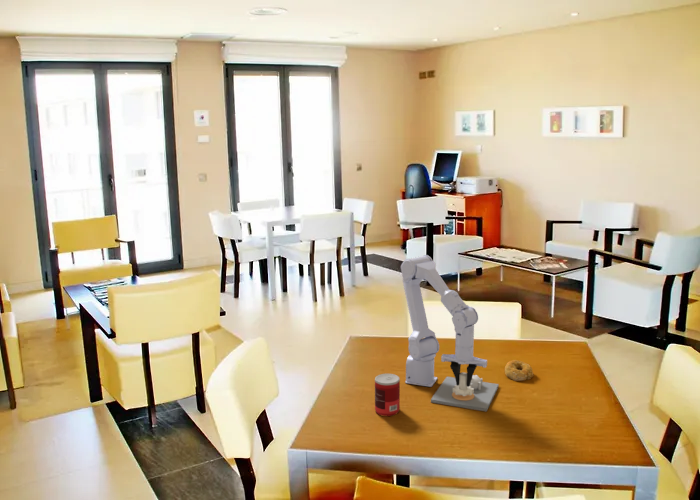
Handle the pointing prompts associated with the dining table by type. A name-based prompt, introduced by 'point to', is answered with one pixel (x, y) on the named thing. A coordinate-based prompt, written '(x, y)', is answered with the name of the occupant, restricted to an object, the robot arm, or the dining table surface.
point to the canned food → (387, 394)
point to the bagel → (518, 370)
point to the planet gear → (463, 386)
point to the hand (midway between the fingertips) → (463, 384)
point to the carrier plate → (475, 401)
